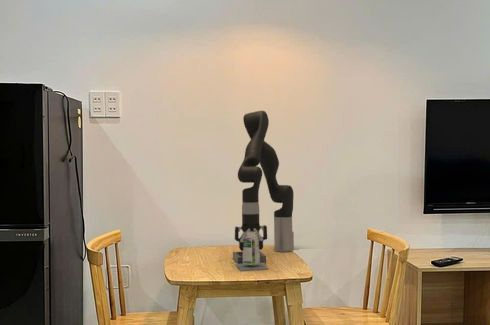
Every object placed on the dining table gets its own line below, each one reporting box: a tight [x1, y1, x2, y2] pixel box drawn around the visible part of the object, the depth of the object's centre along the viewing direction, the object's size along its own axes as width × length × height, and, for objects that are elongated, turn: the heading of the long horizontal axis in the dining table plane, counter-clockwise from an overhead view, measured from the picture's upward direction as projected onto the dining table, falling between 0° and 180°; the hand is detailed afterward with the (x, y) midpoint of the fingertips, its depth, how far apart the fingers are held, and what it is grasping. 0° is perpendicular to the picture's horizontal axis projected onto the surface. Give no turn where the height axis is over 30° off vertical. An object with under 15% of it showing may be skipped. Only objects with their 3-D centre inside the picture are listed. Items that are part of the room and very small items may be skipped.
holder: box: [232, 250, 267, 264], centre depth 226 cm, size 13×13×3 cm
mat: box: [234, 262, 269, 272], centre depth 212 cm, size 12×12×1 cm
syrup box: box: [242, 231, 261, 266], centre depth 212 cm, size 6×6×14 cm
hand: (251, 250), depth 212 cm, fingers closed on syrup box, 8 cm apart
